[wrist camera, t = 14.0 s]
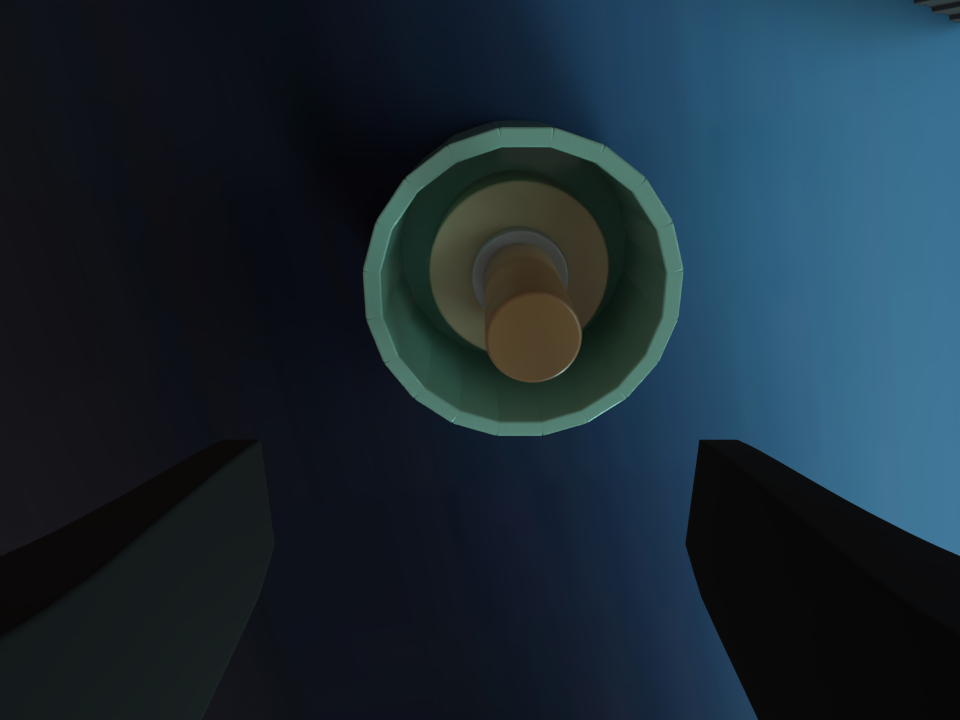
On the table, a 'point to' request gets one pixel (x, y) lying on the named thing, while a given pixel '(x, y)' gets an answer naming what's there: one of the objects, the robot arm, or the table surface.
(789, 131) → the table surface
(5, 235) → the table surface
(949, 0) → the red grey blocky piece
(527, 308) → the rubber stamp
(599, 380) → the bucket
